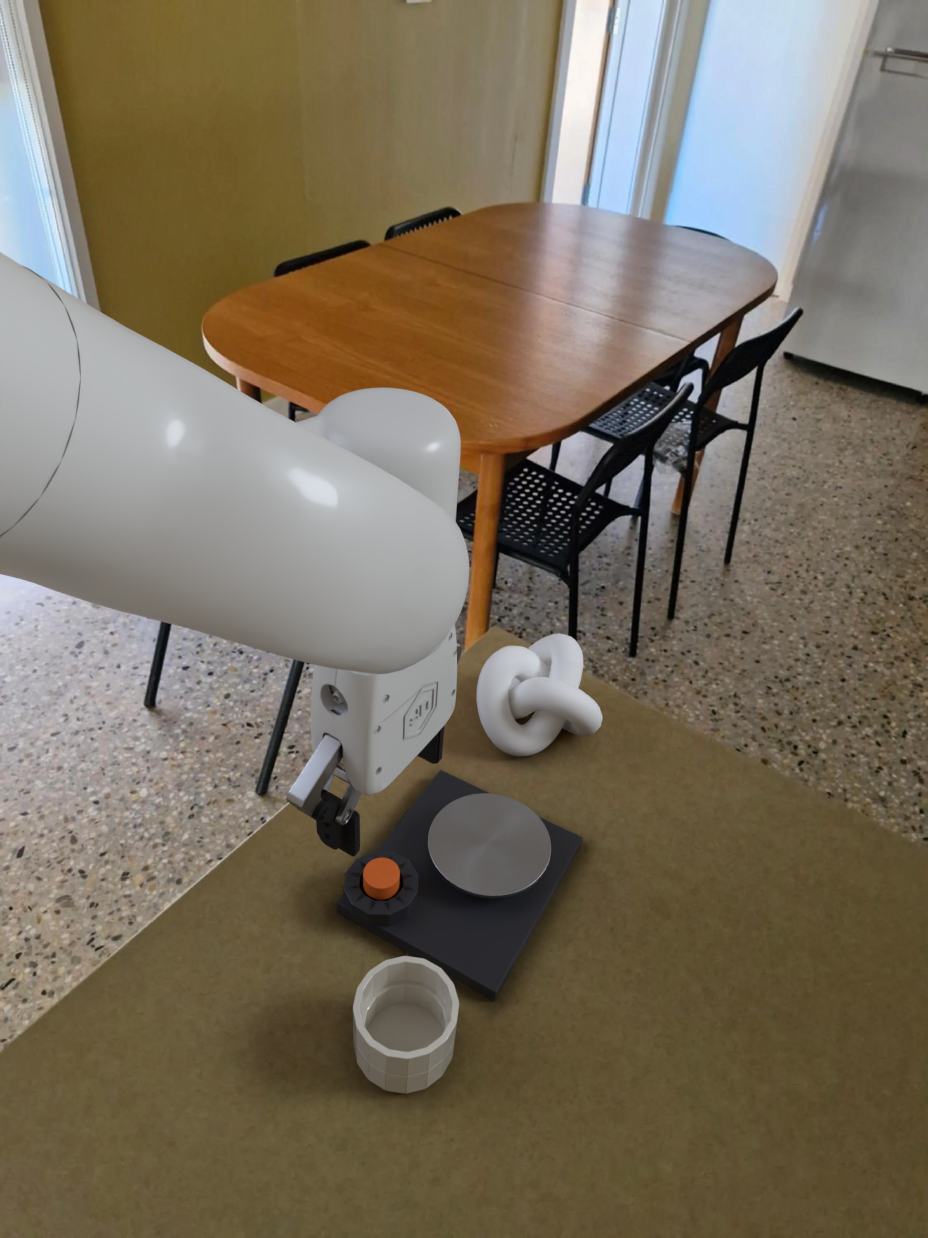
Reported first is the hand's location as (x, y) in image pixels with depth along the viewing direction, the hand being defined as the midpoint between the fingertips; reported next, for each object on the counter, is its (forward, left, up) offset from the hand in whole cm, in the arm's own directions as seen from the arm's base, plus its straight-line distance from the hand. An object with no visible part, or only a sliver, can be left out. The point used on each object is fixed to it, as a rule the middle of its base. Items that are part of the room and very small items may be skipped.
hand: (382, 796), depth 62 cm
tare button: (0, 0, -11) cm, 11 cm away
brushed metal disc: (+8, -6, -10) cm, 14 cm away
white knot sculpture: (+24, -1, -14) cm, 27 cm away
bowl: (-8, -7, -13) cm, 17 cm away
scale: (+6, -4, -13) cm, 15 cm away
